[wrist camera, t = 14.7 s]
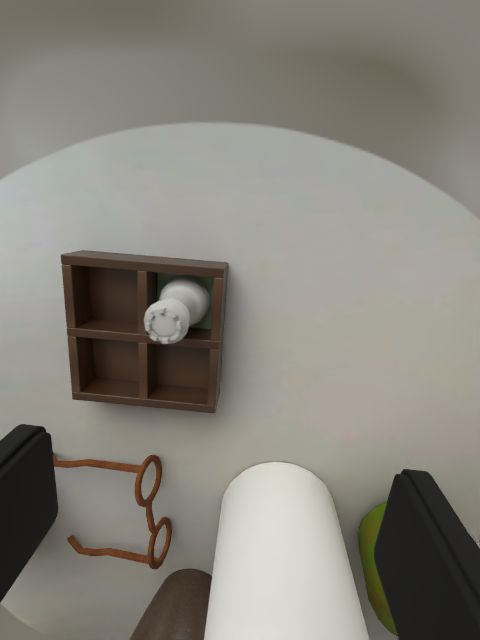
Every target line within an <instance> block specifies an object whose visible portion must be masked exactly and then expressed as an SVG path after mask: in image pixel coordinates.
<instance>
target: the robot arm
mask: <svg viewBox="0 0 480 640" xmlns="http://www.w3.org/2000/svg"><path fill="white" fill-rule="evenodd" d="M57 513H58V502H57V492H56V482H55V472H54V462H53V452H52V442H51V435H50V434H49V433H46V429H45V428H44V427H42V426H33V425H25V424H21V425H19V426H17V427H16V428H14V429H13V430H12V431H11V432H10V433H9V434H8V435H6V436H5V437H4V438H3V439H2V440H1V441H0V602H1V601H2V599H3V598H4V597H5V595H6V594H7V592H8V591H9V589H10V588H11V586H12V585H13V583H14V582H15V580H16V579H17V577H18V576H19V574H20V573H21V571H22V570H23V568H24V567H25V565H26V564H27V562H28V561H29V559H30V558H31V556H32V555H33V553H34V552H35V550H36V549H37V547H38V546H39V544H40V543H41V541H42V540H43V538H44V537H45V535H46V534H47V532H48V531H49V530H50V528H51V527H52V525H53V523H54V522H55V519H56V517H57ZM374 561H375V566H376V569H377V572H378V575H379V578H380V581H381V584H382V588H383V591H384V594H385V597H386V600H387V603H388V606H389V609H390V613H391V616H392V619H393V622H394V625H395V628H396V631H397V634H398V638H399V640H480V548H479V547H478V545H477V544H476V542H475V541H474V540H473V539H472V537H471V536H470V535H469V534H468V532H467V530H466V529H465V527H464V526H463V524H462V523H461V521H460V520H459V518H458V516H457V515H456V513H455V512H454V510H453V509H452V507H451V506H450V504H449V502H448V501H447V499H446V498H445V496H444V495H443V493H442V491H441V490H440V488H439V487H438V485H437V484H436V482H435V481H434V479H433V477H432V476H431V475H430V474H429V473H428V472H426V471H417V470H409V469H404V470H403V471H402V472H401V474H396V475H395V477H394V480H393V484H392V487H391V491H390V494H389V498H388V501H387V505H386V508H385V512H384V515H383V519H382V522H381V526H380V529H379V533H378V536H377V540H376V543H375V547H374Z"/></svg>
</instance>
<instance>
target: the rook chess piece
mask: <svg viewBox="0 0 480 640" xmlns="http://www.w3.org/2000/svg"><path fill="white" fill-rule="evenodd" d="M209 306H210V299H209V293H208V292H207V290H206V288H205V286H204V285H203V284H202V283H201V282H199V281H198V280H197V279H194V278H191V277H188V276H183V277H176V278H174V279H173V280H171V281H169V282H168V283H167V285H166V286H165V287H164V288H163V290H162V291H161V294H160V298H159V301H158V302H156V303H154V304H152V305H151V306H150V307H149V308H148V309H147V311H146V313H145V317H144V324H145V330H146V331H147V332H148V333H149V335H150V338H151V339H152V340H154V341H158V342H161V343H162V344H170V343H175V342H178V341H180V340H182V338H183V337H184V336H185V335H186V334H187V331H188V327H189V326H192V325H194V324H196V323H198V322H199V321H200V320H201V319H202V318H203V317H204V316H205V315H206V314H207V312H208V309H209Z"/></svg>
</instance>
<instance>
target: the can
mask: <svg viewBox="0 0 480 640" xmlns="http://www.w3.org/2000/svg"><path fill="white" fill-rule="evenodd" d="M204 640H369V637H368V633H367V629H366V625H365V621H364V617H363V613H362V610H361V606H360V602H359V598H358V594H357V590H356V586H355V583H354V579H353V575H352V571H351V567H350V563H349V559H348V556H347V552H346V548H345V544H344V540H343V536H342V532H341V529H340V525H339V521H338V517H337V513H336V509H335V505H334V502H333V498H332V496H331V494H330V492H329V491H328V489H327V487H326V486H325V484H324V483H323V482H322V481H321V480H320V479H319V478H317V477H316V476H315V475H314V474H313V473H311V472H310V471H309V470H306V469H304V468H302V467H299V466H297V465H295V464H289V463H282V462H271V463H263V464H258V465H256V466H253V467H251V468H249V469H246V470H244V471H243V472H242V473H240V474H239V475H238V476H237V477H236V478H235V479H233V480H232V482H231V483H230V484H229V486H228V488H227V490H226V491H225V493H224V495H223V498H222V506H221V513H220V521H219V529H218V536H217V544H216V551H215V559H214V567H213V574H212V582H211V590H210V597H209V605H208V613H207V620H206V628H205V636H204Z"/></svg>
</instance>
